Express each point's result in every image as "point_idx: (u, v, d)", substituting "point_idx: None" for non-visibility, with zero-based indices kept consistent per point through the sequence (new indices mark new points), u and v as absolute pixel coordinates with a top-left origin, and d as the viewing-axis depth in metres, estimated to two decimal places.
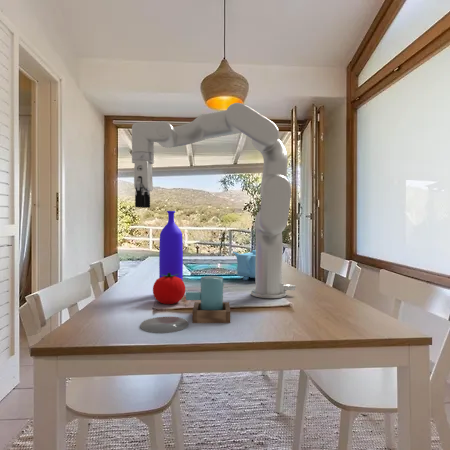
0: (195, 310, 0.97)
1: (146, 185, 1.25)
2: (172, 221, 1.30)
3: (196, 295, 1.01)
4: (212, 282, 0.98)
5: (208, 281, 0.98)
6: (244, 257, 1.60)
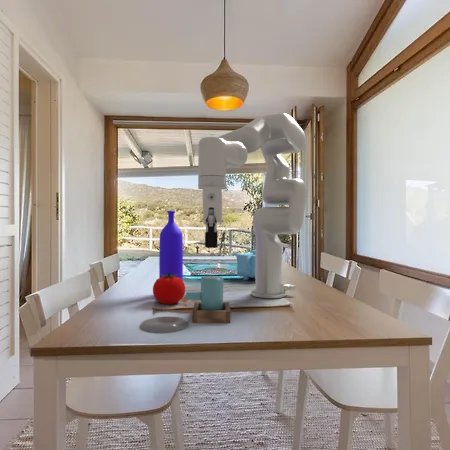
0: (195, 310, 0.97)
1: (219, 219, 0.96)
2: (172, 221, 1.30)
3: (196, 295, 1.01)
4: (213, 281, 0.98)
5: (208, 281, 0.98)
6: (244, 257, 1.60)
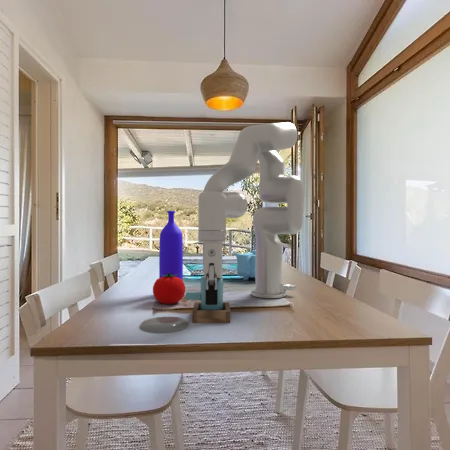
0: (195, 310, 0.97)
1: (220, 274, 0.96)
2: (172, 221, 1.30)
3: (196, 295, 1.01)
4: None
5: None
6: (244, 257, 1.60)
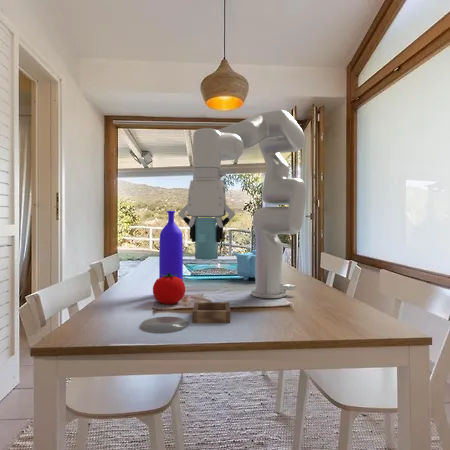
0: (195, 310, 0.97)
1: None
2: (172, 221, 1.30)
3: (206, 236, 0.96)
4: None
5: None
6: (244, 257, 1.60)
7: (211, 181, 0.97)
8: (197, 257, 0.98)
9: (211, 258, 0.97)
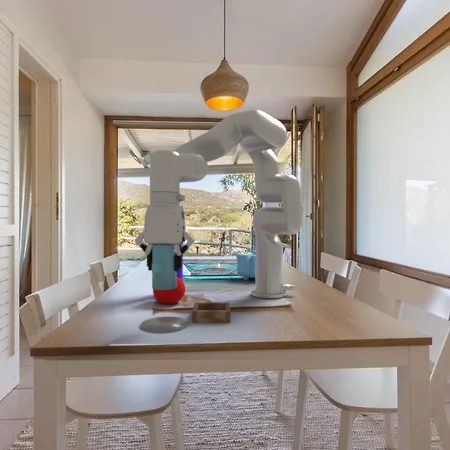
0: (195, 310, 0.97)
1: None
2: None
3: (161, 265, 0.89)
4: None
5: None
6: (244, 257, 1.60)
7: (168, 206, 0.91)
8: (153, 287, 0.92)
9: (168, 288, 0.91)
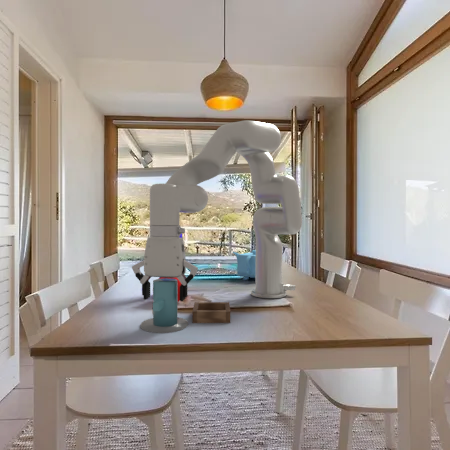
0: (195, 310, 0.97)
1: (185, 269, 0.95)
2: None
3: (162, 302, 0.90)
4: (177, 282, 0.94)
5: (175, 283, 0.93)
6: (244, 257, 1.60)
7: (168, 240, 0.91)
8: (154, 323, 0.92)
9: (169, 325, 0.92)
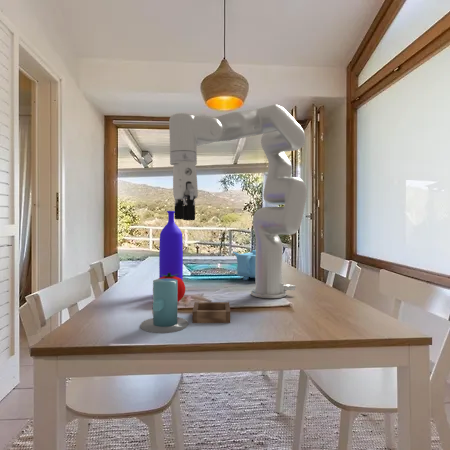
0: (195, 310, 0.97)
1: (196, 193, 1.00)
2: (172, 221, 1.30)
3: (162, 302, 0.90)
4: (177, 282, 0.94)
5: (175, 283, 0.93)
6: (244, 257, 1.60)
7: (176, 164, 1.01)
8: (154, 323, 0.92)
9: (169, 325, 0.92)
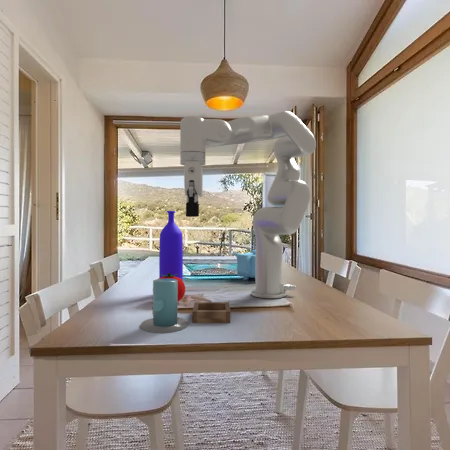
0: (195, 310, 0.97)
1: (199, 191, 1.05)
2: (172, 221, 1.30)
3: (162, 302, 0.90)
4: (177, 282, 0.94)
5: (175, 283, 0.93)
6: (244, 257, 1.60)
7: (184, 164, 1.08)
8: (154, 323, 0.92)
9: (169, 325, 0.92)
